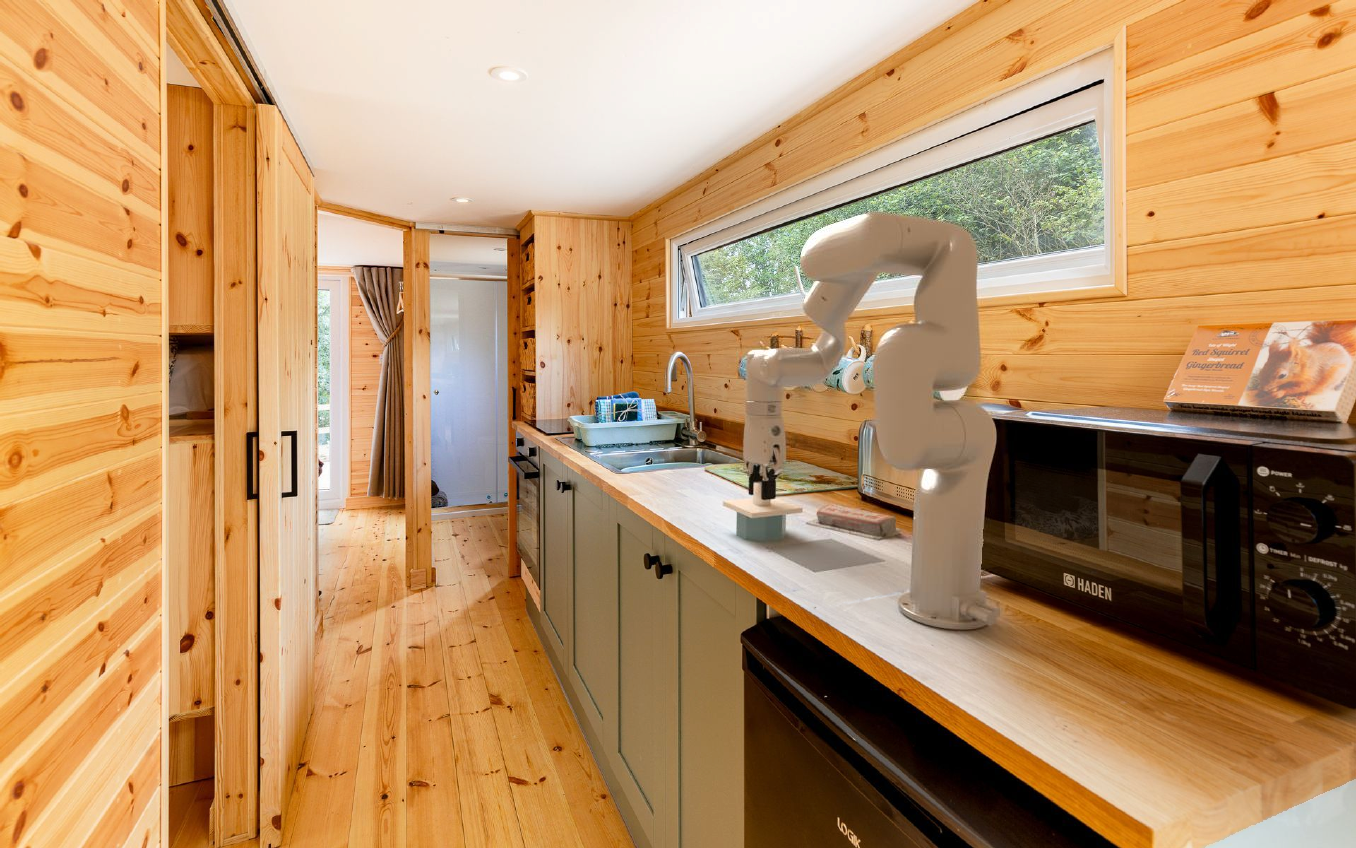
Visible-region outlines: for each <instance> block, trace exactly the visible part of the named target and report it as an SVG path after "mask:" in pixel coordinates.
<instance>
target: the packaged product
mask: <svg viewBox="0 0 1356 848" xmlns="http://www.w3.org/2000/svg"><path fill="white" fill-rule="evenodd" d="M816 517H817V518H816V519H815V518H814V519H813V520H809V521H806V522H805V525H809V526H812V527H817V528H821V529H826V530H831V531H834V532H839V533H844V534H848V535H854V536H857V537H862V538H866V539H870V540H874V541H881V540H884V539H886V538H889V537H895V535H896V536H898V535H900V534H901V531H900V528H899V527H896V523H897V517H895V516H892V515H888V514H883V513H878V512H873V511H869V510H864V509H863V510H862V509H859V508H854V507H853V508H852V507H850V506H849V507H848V506H843V505H839V504H833V503H827V504H824V505H823V506H822V507H821V508H819V509H818V510H817V511H816ZM897 534H898V535H897Z"/></svg>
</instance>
